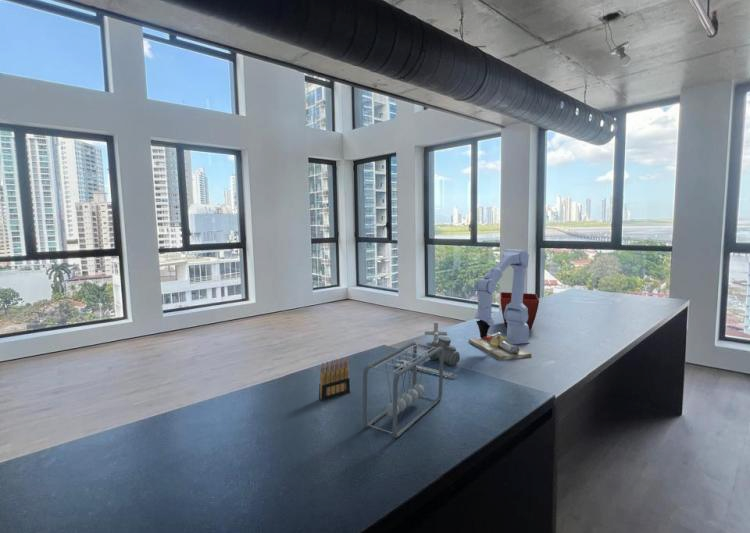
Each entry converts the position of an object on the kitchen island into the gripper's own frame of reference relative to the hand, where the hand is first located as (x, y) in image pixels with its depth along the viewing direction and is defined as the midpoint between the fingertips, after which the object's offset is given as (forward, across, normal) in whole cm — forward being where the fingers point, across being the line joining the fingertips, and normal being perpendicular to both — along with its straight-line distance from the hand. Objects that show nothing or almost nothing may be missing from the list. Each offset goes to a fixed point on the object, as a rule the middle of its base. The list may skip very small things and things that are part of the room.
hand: (483, 337), depth 175 cm
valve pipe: (+7, -4, +9) cm, 12 cm away
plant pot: (+7, -40, +37) cm, 56 cm away
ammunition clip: (+7, +36, -66) cm, 75 cm away
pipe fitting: (+7, +10, -21) cm, 24 cm away
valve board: (+7, -4, +9) cm, 12 cm away
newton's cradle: (+7, +51, -46) cm, 69 cm away
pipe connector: (+7, -14, -17) cm, 23 cm away
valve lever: (0, -1, +5) cm, 5 cm away
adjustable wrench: (+7, +19, -32) cm, 38 cm away
